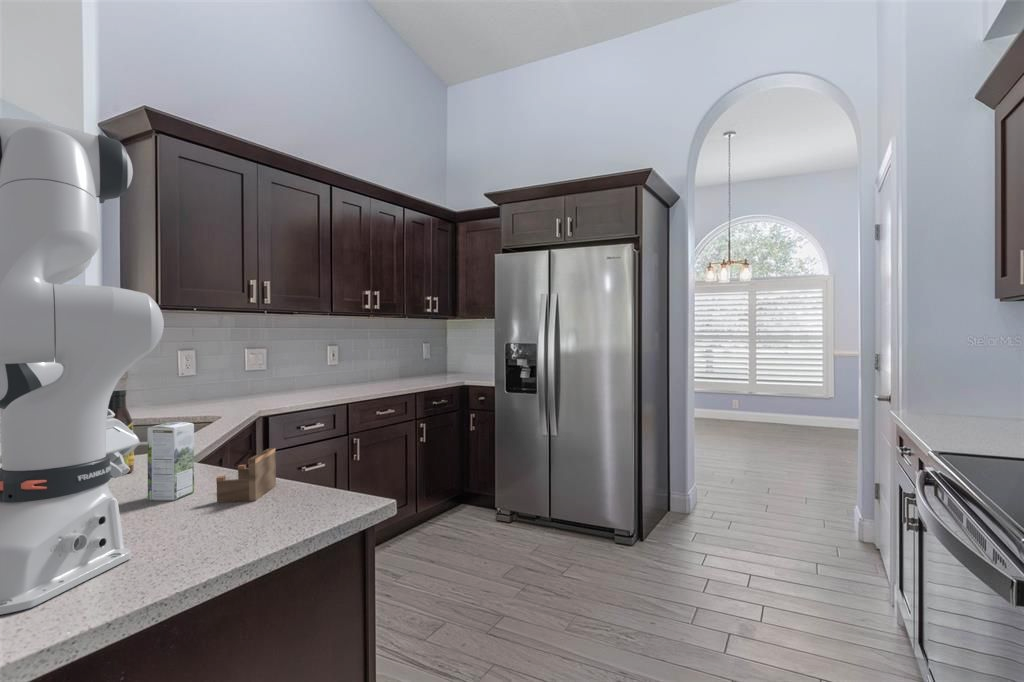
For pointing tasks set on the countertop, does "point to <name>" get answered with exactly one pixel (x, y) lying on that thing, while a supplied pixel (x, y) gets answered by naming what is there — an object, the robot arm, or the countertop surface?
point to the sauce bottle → (122, 418)
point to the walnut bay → (249, 479)
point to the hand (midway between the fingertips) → (123, 474)
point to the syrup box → (170, 461)
